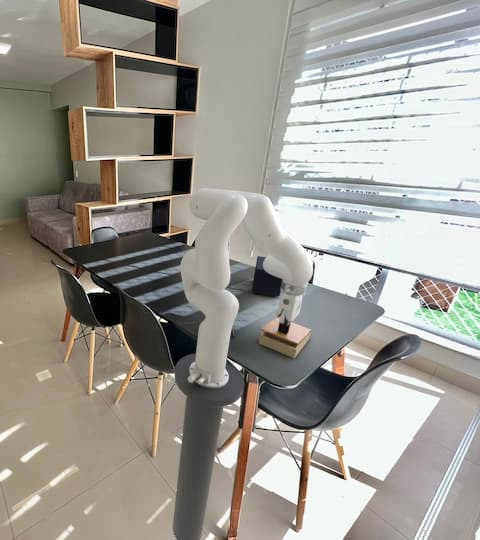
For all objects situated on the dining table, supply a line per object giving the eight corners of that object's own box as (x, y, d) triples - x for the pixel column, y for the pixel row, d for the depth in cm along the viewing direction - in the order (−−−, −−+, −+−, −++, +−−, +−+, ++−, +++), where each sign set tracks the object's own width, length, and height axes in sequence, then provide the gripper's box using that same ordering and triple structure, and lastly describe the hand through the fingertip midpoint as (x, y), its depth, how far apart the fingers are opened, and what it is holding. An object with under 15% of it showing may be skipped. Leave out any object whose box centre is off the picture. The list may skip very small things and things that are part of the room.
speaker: (253, 279, 166) (257, 254, 161) (278, 283, 161) (283, 257, 155) (251, 294, 148) (256, 267, 143) (279, 299, 143) (285, 271, 137)
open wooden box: (294, 358, 102) (296, 349, 100) (258, 343, 110) (259, 334, 109) (308, 339, 112) (311, 331, 111) (274, 326, 121) (276, 318, 119)
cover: (297, 344, 99) (297, 343, 99) (260, 329, 107) (260, 328, 107) (311, 331, 111) (311, 329, 110) (276, 318, 119) (277, 317, 119)
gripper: (298, 297, 92) (286, 345, 98) (312, 283, 101) (300, 328, 108) (273, 290, 97) (264, 336, 104) (289, 277, 106) (279, 320, 113)
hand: (282, 332), depth 106 cm, fingers closed
